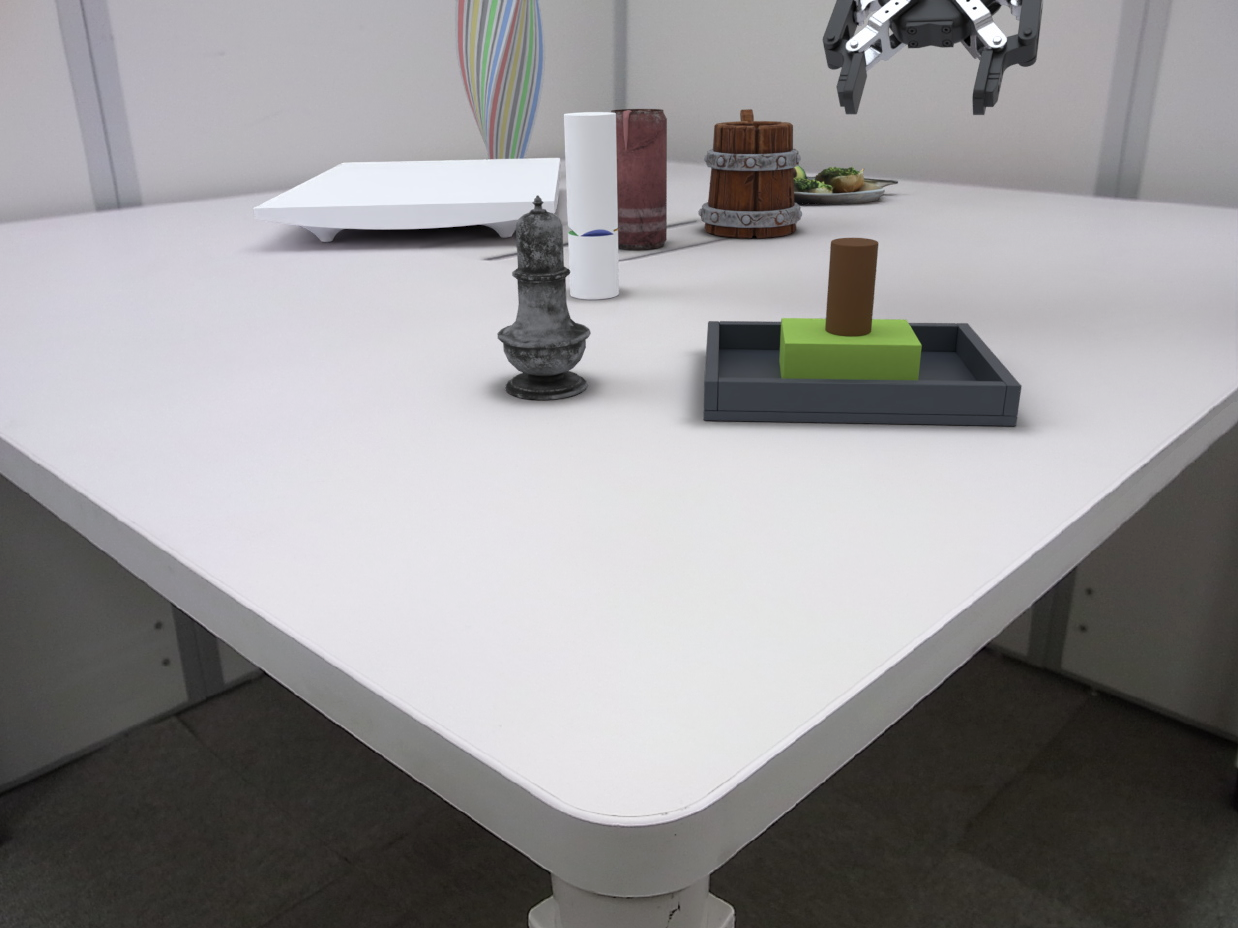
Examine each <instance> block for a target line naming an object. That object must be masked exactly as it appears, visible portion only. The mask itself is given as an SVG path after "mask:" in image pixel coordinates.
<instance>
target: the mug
mask: <svg viewBox="0 0 1238 928" xmlns="http://www.w3.org/2000/svg"><path fill="white" fill-rule="evenodd" d="M739 118H740V121H739V120H738V121H723V122H718V123H715V124H714V125H713V127H714V128H713V143H712V148H711V149H708V150H707V151H706V154H705V155H704V157H703V160H704V162H705V165H706V166H707V168H711V169H710V177H709V178H710V179H709V188H708V198H707V201H706V202H704V203H703V204H702V205H701V208H700V209H699V210H698V212H697V213H698V216H699V217H700V219H701V221H702V222H703V223H704V231H705V232H706V233H708V234H710V235H715V236H716V237H717V236H718V237H722V238H734V239H753V237H756V238H757V239H768V238H769V239H770V238H777V237H784V236H789V235H791V234H794V232H796V231H797V223H798V222H800V221H801V219H802V217H803V211H802V209H801V205H798V204H797V203H795V202H794V175H793V168H794V167H796V166H798V165H799V166H800V162H801V160H802V157H801V155H800V154H799V150H797V148H794V125H793V124H792V123H791V122H787V121H777V120H775V121H774V120H755V116H754V111H753V109H751V108H750V109H749V108H748V109H741V110H740V112H739Z"/></svg>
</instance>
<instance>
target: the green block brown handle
mask: <svg viewBox="0 0 1238 928" xmlns="http://www.w3.org/2000/svg"><path fill="white" fill-rule="evenodd" d="M829 249H830V250H829V264H828V279H827V295H826V309H825V310H826V311H825V312H826V313H825V318H821V317H820V318H816V317H811V318H810V317H807V318H805V317H781V320H780V322H781V337H780V358H779V363H780V371H781V378H785V379H856V380H918V377H919V367H920V358H921V348H922V345H921V343H920V342H919V340H918V338H917V337H916V335H915V333H914V331H913V330H912V328H911V326H910V325H909V323H910V322H909V321H908V320H907V319H901V318H900V319H896V318H895V319H894V318H893V319H892V318H873V315H874V303H875V290H876V277H877V268H878V267H877V265H878V256H879V255H878V254H879V253H878V252H879V241H877V240H876V239H871V238H865V237H840V238H835V239H832V240H830V247H829Z"/></svg>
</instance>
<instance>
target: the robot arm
mask: <svg viewBox="0 0 1238 928" xmlns="http://www.w3.org/2000/svg"><path fill="white" fill-rule="evenodd" d="M1002 6H1005V7H1008V8H1009V10H1010V14H1011V16H1014V17H1015V20H1016V21H1019V22H1018V29H1017V33H1016V34H1013V35H1009V36H1006V35H1005V33H1004V32H1003V31H1002V30H1001V29H1000V28H999V27H998V25H997V24H996V23H995V21H994V20H993V16H994V15H996V14H997V13H998V12H999V11H1000V9H1001V8H1002ZM1043 8H1044V0H836V1H835V4H834V7H833V9H832V12H831V14H830V17H829V20H828V22H827V25H826V28H825V31H824V34H823V36H822V45H823V49H824V56H825V59H826V64H827V65H826V66H827V68H828V69H829V70H833V71H835V70H839V69H840V71H839V77H838V80H837V83H836V93H837V98H838V102H839V107H841V108H843V109H844V112H845V115H857V114H858V112H859V108H860V104H861V101H862V97H863V95H864V94H863V93H864V90H865V85H866V82H867V78H868V71H869V70H871V69H872V68H873V67H875V65H877V64H878V63H879V62H880V61H885V62H887V61H889V60H890V59H891V58H893V57H894V56H895V55H896V54H897V53H899V52H900V51H901V50H902V49H903V48H905V47H906V46H907V49H921V48H926V47H937V48H944V49H945V48H946V49H947V48H954V46H955V44H959V43H960V44H961V45H962V46H963V47H964V49H966V51H967V52H968V53H969V54H970V56H971V57H972V58H973V59H974V60H979V63H978V68H977V72H976V76H975V81H974V85H973V90H972V97H971V98H972V101H971V103H972V115H973V116H985V115H986V110H987V108H994V107H995V105H996V104H997V103H998V101H999V97H1000V92H1001V87H1002V84H1003V83H1002V82H1003V79H1004V73H1005V72H1006V70H1007V69H1008V68H1009V67H1012V66H1015V65H1018V66H1020V67H1023V68H1027V67H1031V66H1033V65H1034V64H1036V62H1037V59H1038V52H1039V51H1038V50H1039V43H1040V34H1041V33H1040V32H1041V25H1042V16H1043ZM873 12H874V13H873ZM871 13H873V14H872V15H870V14H871ZM869 15H870V17H869ZM868 17H869V18H868ZM867 18H868V21H867V23H866V25H865V27H863V28H862V29H861V30H860V31H859V32H857V33H856V30H857V28H858V27H862V26H863V25H864V24H865V20H866V19H867ZM890 31H891V32H892V33H891V35H890Z"/></svg>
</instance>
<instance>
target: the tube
mask: <svg viewBox="0 0 1238 928" xmlns="http://www.w3.org/2000/svg"><path fill="white" fill-rule="evenodd" d="M563 130H564V131H563V133H564V157H565V158H564V159H565V184H566V185H565V187H566V188H565V189H566V212H567V213H566V216H567V227H568V228H569V229H570V230H569V231H567V232H568V233H567V238H568V239H567V240H568V241H567V242H568V243H567V244H568V269H569V270H570V274H569V292H570V293H569V295H570V296H571V297H572V298H574V299H580V300H607V299H611V298H615V297H617V296H619V294H620V279H619V277H620V276H619V275H620V274H619V273H620V271H619V270H620V269H619V248H618V229H617V228H618V209H617V152H616V113H611V111H610V112H609V111H585V112H583V111H582V112H581V111H580V112H568V113H564V114H563Z"/></svg>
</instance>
